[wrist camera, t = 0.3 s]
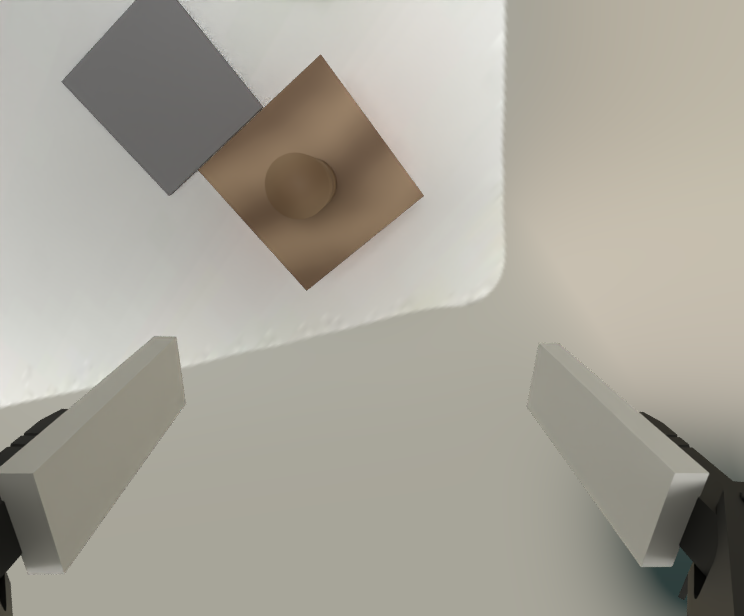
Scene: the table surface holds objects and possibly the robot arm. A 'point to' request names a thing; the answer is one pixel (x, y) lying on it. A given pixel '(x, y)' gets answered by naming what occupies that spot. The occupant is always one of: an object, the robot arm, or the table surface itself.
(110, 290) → the table surface
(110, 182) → the table surface
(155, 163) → the mat
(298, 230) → the lid
